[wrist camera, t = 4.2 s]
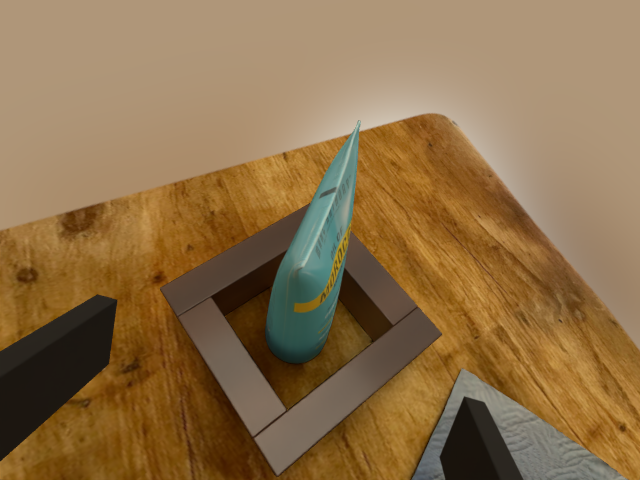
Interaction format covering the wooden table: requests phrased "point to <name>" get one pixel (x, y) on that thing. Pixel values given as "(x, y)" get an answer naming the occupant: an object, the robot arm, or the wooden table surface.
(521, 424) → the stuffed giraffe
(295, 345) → the tube
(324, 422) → the square wooden frame
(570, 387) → the wooden table surface
